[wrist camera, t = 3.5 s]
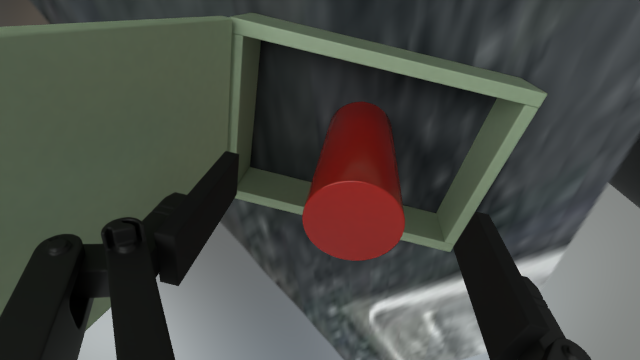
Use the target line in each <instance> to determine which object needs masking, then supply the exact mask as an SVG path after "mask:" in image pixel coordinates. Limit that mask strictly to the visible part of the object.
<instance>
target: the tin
mask: <svg viewBox="0 0 640 360" xmlns="http://www.w3.org/2000/svg"><path fill="white" fill-rule="evenodd" d="M302 222H303V227H304V229H305V232H306V234H307V236H308V237H309V239H310V240H311V241H312V242H313V244H314V245H315V246H317V247H318V248H319V249H320V250H322V251H323V252H325V253H327V254H329V255H331V256H334V257H337V258H340V259H345V260H352V261H360V260H368V259H373V258H376V257H379V256H381V255H383V254H385V253H387V252H388V251H390V250H391V249H392V248H393V247H394V246H396V244H397V243H398V242H399V240H400V239H401V237H402V235H403V232H404V228H405V216H404V209H403V203H402V196H401V189H400V182H399V176H398V169H397V162H396V155H395V149H394V142H393V135H392V128H391V123H390V120H389V118H388V116H387V115H386V114H385V112H384V111H383V110H382V109H380V108H379V107H377V106H376V105H373V104H371V103H367V102H354V103H350V104H347V105H345V106H343V107H342V108H340V109H339V110H338V111H337V112H336V113H335V114H334V116H333V117H332V119H331V121H330V125H329V128H328V131H327V134H326V138H325V141H324V144H323V147H322V151H321V154H320V157H319V160H318V164H317V167H316V170H315V173H314V177H313V180H312V183H311V186H310V190H309V193H308V196H307V199H306V203H305V206H304V209H303V214H302Z"/></svg>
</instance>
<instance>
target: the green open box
mask: <svg viewBox="0 0 640 360" xmlns="http://www.w3.org/2000/svg"><path fill="white" fill-rule="evenodd" d="M230 18H231V19H232V36H231V62H230V88H229V114H228V140H227V151H229V152H233V153H237V154H239V168H238V184H237V195H236V196H235V198H236V199H240V200H244V201H248V202H252V203H256V204H260V205H264V206H268V207H272V208H276V209H280V210H284V211H288V212H292V213H296V214H300V215H302V214H303V209H304V206H305V203H306V199H307V196H308V193H309V190H310V186H311V183H312V182H308V181H304V180H300V179H296V178H292V177H288V176H284V175H280V174H276V173H272V172H268V171H264V170H260V169H256V168H252V167H250V160H251V149H252V137H253V126H254V114H255V103H256V92H257V80H258V69H259V57H260V46H261V40H263V41H267V42H271V43H276V44H280V45H284V46H288V47H292V48H296V49H300V50H304V51H308V52H312V53H317V54H321V55H325V56H329V57H333V58H337V59H341V60H345V61H349V62H353V63H358V64H362V65H366V66H370V67H374V68H378V69H382V70H386V71H390V72H394V73H398V74H403V75H407V76H411V77H415V78H419V79H423V80H427V81H431V82H435V83H439V84H444V85H448V86H452V87H456V88H460V89H464V90H468V91H472V92H476V93H480V94H485V95H489V96H493V97H497V99H496V101H495V103H494V105H493V106H492V108H491V110H490V112H489V114H488V116H487V118H486V120H485V122H484V123H483V125H482V127H481V129H480V131H479V133H478V135H477V137H476V139H475V141H474V142H473V144H472V146H471V148H470V150H469V152H468V154H467V156H466V158H465V159H464V161H463V163H462V165H461V167H460V169H459V171H458V173H457V175H456V176H455V178H454V180H453V182H452V184H451V186H450V188H449V190H448V192H447V193H446V195H445V197H444V199H443V201H442V203H441V205H440V207H439V209H438V210H437V212H436V213H432V212H428V211H424V210H420V209H416V208H412V207H408V206H404V205H403V209H404V216H405V228H404V232H403V235H402V237H401V239H400V240H404V241H408V242H412V243H416V244H420V245H424V246H428V247H432V248H436V249H440V250H444V251H448V252H451V250H452V248H453V246H454V244H455V243H456V241H457V240H458V238H459V237H460V235H461V233H462V232H463V230H464V229H465V227H466V225H467V224H468V222H469V220H470V219H471V217H472V216H473V214H474V212H475V211H476V209H477V208H478V206H479V204H480V203H481V201H482V199H483V198H484V196H485V195H486V193H487V191H488V190H489V188H490V186H491V185H492V183H493V182H494V180H495V178H496V177H497V175H498V173H499V172H500V170H501V169H502V167H503V165H504V164H505V162H506V161H507V159H508V157H509V156H510V154H511V152H512V151H513V149H514V148H515V146H516V144H517V143H518V141H519V139H520V138H521V136H522V135H523V133H524V131H525V130H526V128H527V126H528V125H529V123H530V122H531V120H532V118H533V117H534V115H535V113H536V112H537V110H538V108H539V107H540V106H541V104H542V103H543V101H544V99H545V98H546V96H547V93H545V92H544V91H542V90H540V89H539V88H537V87H535V86H533V85H532V84H530V83H528V82H527V81H525V80H523V79H522V78H519V77H514V76H510V75H506V74H502V73H498V72H494V71H490V70H486V69H481V68H477V67H473V66H469V65H465V64H461V63H457V62H453V61H449V60H444V59H440V58H436V57H432V56H428V55H424V54H420V53H416V52H412V51H407V50H403V49H399V48H395V47H391V46H387V45H383V44H379V43H375V42H370V41H366V40H362V39H358V38H354V37H350V36H346V35H342V34H337V33H333V32H329V31H325V30H321V29H317V28H313V27H309V26H305V25H300V24H296V23H292V22H288V21H284V20H280V19H276V18H272V17H268V16H263V15H259V14H255V13H247V14H242V15H237V16H231V17H230Z"/></svg>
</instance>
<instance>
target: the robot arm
mask: <svg viewBox="0 0 640 360" xmlns="http://www.w3.org/2000/svg"><path fill="white" fill-rule="evenodd" d="M238 168H239V154H237V153H233V152H229V151H225V152H224V153H223V154H222V155H221V157H220V158H219V159H218V160H217V161H216V162H215V163H214V165H213V166H212V167H211V168H210V169H209V170H208V171H207V173H206V174H205V175H204V176H203V177H202V178H201V179H200V181H199V182H198V183H197V184H196V185H195V186H194V187H193V189H192V190H191V191H190V192H189V193H188V194H187V195H186V194H181V193H177V192H174V193H172V194H170V195H169V196H167V197H165V198H164V199H163V200H162V201H161V202H160V203H159V204H158V206H156V207H155V208H154V209H153V210H152V212H150V213H149V214H148V215H147V216H146V217H145V218H144V219H143V220H142V221H141V220H139V219H137V218H132V217H123V218H118V219H115V220H112V221H111V222H109V223H107V224H106V225H105V226H104V227H103V228H102V231H101V237H102V241H103V244H83V242H82V240H81V239H80V237H79V236H76V235H74V234H61V235H55V236H53V237H50V238H48V239H46V240H44V241H43V242H41V243H40V244H39V245H38V246H37V247H36V248H35V250H34V252H33V254H32V256H31V258H30V260H29V262H28V263H27V265H26V267H25V269H24V271H23V273H22V275H21V277H20V279H19V281H18V283H17V285H16V287H15V289H14V291H13V293H12V295H11V296H10V298H9V300H8V302H7V304H6V306H5V308H4V310H3V312H2V314H1V316H0V360H77V359H78V355H79V352H80V348H81V344H82V341H83V337H84V333H85V330H86V326H87V322H88V319H89V315H90V312H91V308H92V304H93V301H94V298H103V297H110V301H111V310H112V319H113V328H114V338H115V347H116V355H117V360H175V357H174V353H173V349H172V345H171V340H170V336H169V332H168V328H167V324H166V320H165V315H164V311H163V307H162V303H161V299H160V295H159V290H158V286H157V282H156V276H157V275H158V274H159V275H160V282H164V283H168V284H172V285H176V286H179V284H180V283H181V281H182V280H183V278H184V276H185V275H186V273H187V272H188V270H189V269H190V267H191V266H192V264H193V262H194V261H195V259H196V258H197V256H198V255H199V253H200V251H201V250H202V248H203V247H204V245H205V243H206V242H207V240H208V239H209V237H210V236H211V234H212V232H213V231H214V229H215V228H216V226H217V225H218V223H219V222H220V220H221V218H222V217H223V215H224V214H225V212H226V211H227V209H228V207H229V206H230V204H231V203H232V201H233V200H234V198H235V196H236V195H237V184H238ZM453 248H454V252H455V255H456V258H457V261H458V264H459V267H460V270H461V273H462V276H463V279H464V282H465V285H466V288H467V291H468V294H469V297H470V300H471V303H472V306H473V309H474V312H475V315H476V318H477V322H478V325H479V328H480V331H481V334H482V337H483V340H484V343H485V346H486V349H487V352H488V355H489V358H490V360H591V358H590V357H589V356H588V355H587V353H586V352H585V351H584V350H583V349H582V348H581V347H580V346H578V345H577V344H576V343H574V342H572V341H571V340H568V339H566V338H565V336H564V334H563V332H562V331H561V329H560V327H559V325H558V323H557V322H556V320H555V318H554V317H553V315H552V313H551V311H550V309H548V306H547V304H546V302H545V301H544V300H543V297H542V295H541V293H540V292H539V290H538V288H537V287H536V286H535V285H534V284H533V283H532V281H531V280H530V279H529V278H528V277H524V276H521V274H520V272H519V270H518V268H517V267H516V265H515V263H514V261H513V259H512V257H511V255H510V253H509V252H508V250H507V248H506V246H505V244H504V242H503V240H502V238H501V237H500V235H499V233H498V231H497V229H496V227H495V225H494V223H493V222H492V220H491V218H490V216H489V215H488V214H483V213H479V212H474V214H473V216H472V217H471V219H470V220H469V222H468V224H467V225H466V227H465V229H464V230H463V232H462V233H461V235H460V237H459V238H458V240H457V241H456V243H455V245H454V246H453Z"/></svg>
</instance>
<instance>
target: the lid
mask: <svg viewBox="0 0 640 360" xmlns="http://www.w3.org/2000/svg"><path fill="white" fill-rule="evenodd" d="M231 36H232V19H231V18H228V17H224V16H208V17H188V18H168V19H148V20H128V21H109V22H89V23H69V24H49V25H30V26H11V27H10V26H9V27H0V316H1V314H2V312H3V310H4V308H5V306H6V304H7V302H8V300H9V298H10V296H11V295H12V293H13V291H14V289H15V287H16V285H17V283H18V281H19V279H20V277H21V275H22V273H23V271H24V269H25V267H26V265H27V263H28V262H29V260H30V258H31V256H32V254H33V252H34V250H35V248H36V247H37V246H38V245H39V244H40V243H41V242H43V241H44V240H46V239H48V238H50V237H53V236H55V235H61V234H74V235H76V236H79V237H80V239H81V240H82V242H83V244H103V241H102V237H101V231H102V228H103V227H104V226H105V225H106V224H107V223H109V222H111V221H112V220H115V219H118V218H123V217H132V218H137V219H139V220H141V221H142V220H143V219H144V218H145V217H146V216H147V215H148V214H149V213H150V212H152V210H153V209H154V208H155V207H156V206H158V204H159V203H160V202H161V201H162V200H163V199H164V198H165V197H167V196H169V195H170V194H172V193H174V192H177V193H181V194H186V195H187V194H188V193H189V192H190V191H191V190H192V189H193V187H194V186H195V185H196V184H197V183H198V182H199V181H200V179H201V178H202V177H203V176H204V175H205V174H206V173H207V171H208V170H209V169H210V168H211V167H212V166H213V165H214V163H215V162H216V161H217V160H218V159H219V158H220V157H221V155H222V154H223V153H224V152H225V151H227V140H228V114H229V88H230V62H231ZM110 307H111V301H110V297H103V298H94V301H93V304H92V308H91V312H90V315H89V319H88V322H87V326H86V330H87V329H88V328H89V327H90V326H91V325H92V324H93V323H94V322H95V321H97V319H99V318H100V317H101V316H102V315H103V314H104V313H105V312H106V311H107V310H108V309H109V308H110ZM86 330H85V331H86Z"/></svg>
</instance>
